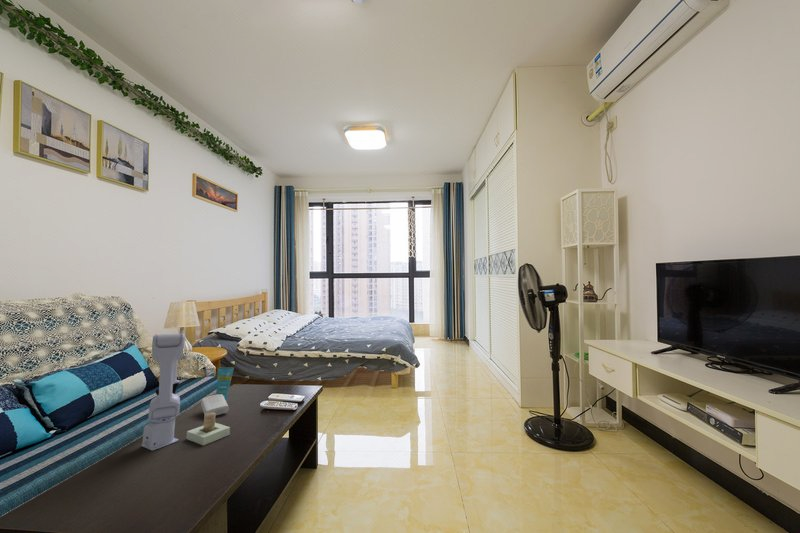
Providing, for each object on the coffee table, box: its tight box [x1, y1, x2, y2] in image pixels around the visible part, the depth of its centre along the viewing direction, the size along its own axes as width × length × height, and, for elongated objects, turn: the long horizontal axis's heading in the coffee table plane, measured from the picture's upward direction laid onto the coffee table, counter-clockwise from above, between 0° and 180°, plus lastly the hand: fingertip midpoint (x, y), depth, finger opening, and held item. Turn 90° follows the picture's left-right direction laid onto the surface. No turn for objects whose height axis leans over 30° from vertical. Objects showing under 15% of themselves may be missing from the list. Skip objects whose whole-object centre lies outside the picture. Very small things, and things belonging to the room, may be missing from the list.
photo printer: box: [200, 394, 230, 417], centre depth 159 cm, size 10×4×12 cm
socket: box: [186, 422, 231, 446], centre depth 134 cm, size 11×11×3 cm
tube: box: [215, 366, 235, 401], centre depth 169 cm, size 7×5×19 cm, turn 124°
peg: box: [203, 412, 217, 433], centre depth 134 cm, size 4×4×9 cm
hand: (166, 403), depth 142 cm, fingers open, 7 cm apart
